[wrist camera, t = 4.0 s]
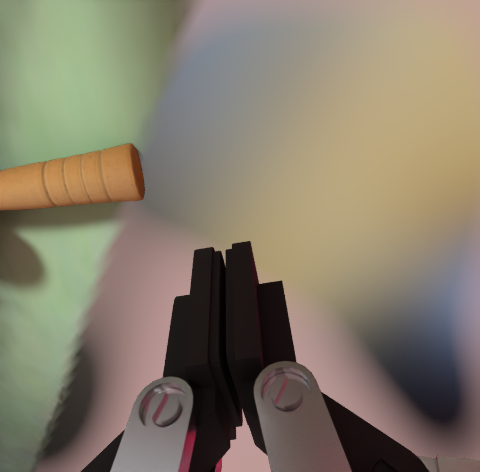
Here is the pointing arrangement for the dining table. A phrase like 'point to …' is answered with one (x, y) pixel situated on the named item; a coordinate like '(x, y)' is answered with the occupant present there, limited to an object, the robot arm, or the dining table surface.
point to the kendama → (74, 180)
